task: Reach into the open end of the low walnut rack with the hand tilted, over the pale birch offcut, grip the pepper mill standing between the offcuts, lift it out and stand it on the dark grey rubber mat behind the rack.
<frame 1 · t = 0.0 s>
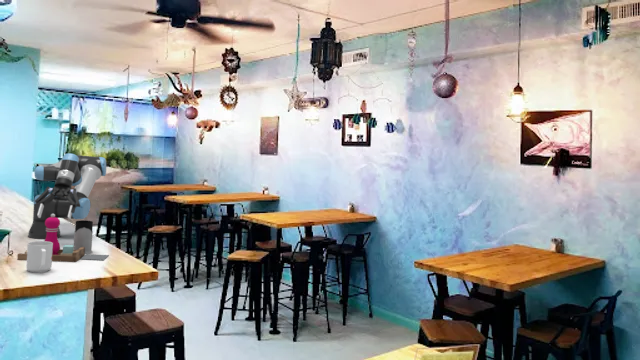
hand: (53, 217, 234), 15 cm above the table, tool tilted 35°, fingers open, 13 cm apart
mat: (94, 257, 223), on the table
pepper mill: (50, 257, 217), resting in rack
mug: (39, 271, 194), on the table
rack: (52, 257, 217), on the table
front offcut: (32, 257, 215), on the table
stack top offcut: (68, 252, 218), point 3 cm above the table, touching stack bottom offcut
glass holder: (82, 251, 234), on the table
stack bottom offcut: (68, 258, 218), resting in rack, touching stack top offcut
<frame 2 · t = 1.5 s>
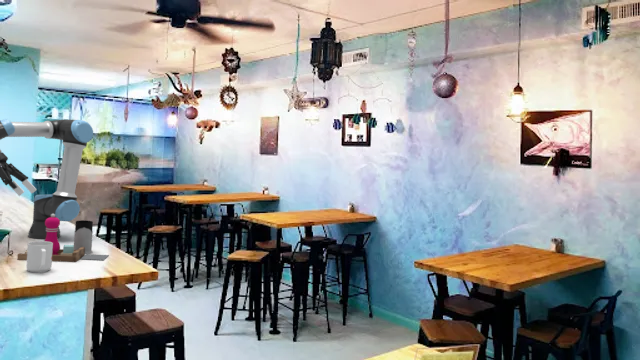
hand: (28, 192, 219), 28 cm above the table, tool tilted 45°, fingers open, 13 cm apart
nothing on the table moved.
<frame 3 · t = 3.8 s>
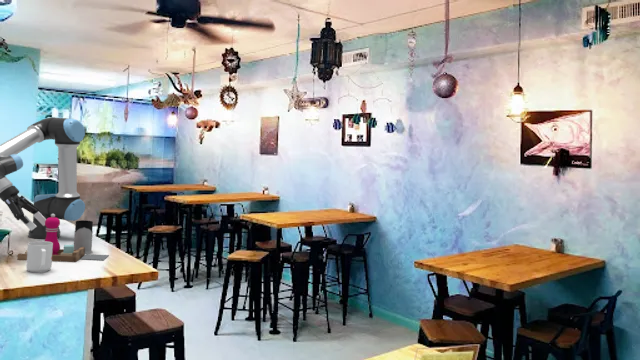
hand: (40, 226, 214), 14 cm above the table, tool tilted 45°, fingers open, 13 cm apart
nothing on the table moved.
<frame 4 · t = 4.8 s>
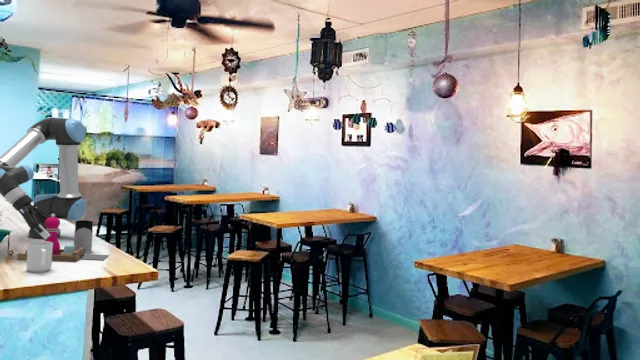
hand: (53, 234, 216), 10 cm above the table, tool tilted 45°, fingers open, 13 cm apart
nothing on the table moved.
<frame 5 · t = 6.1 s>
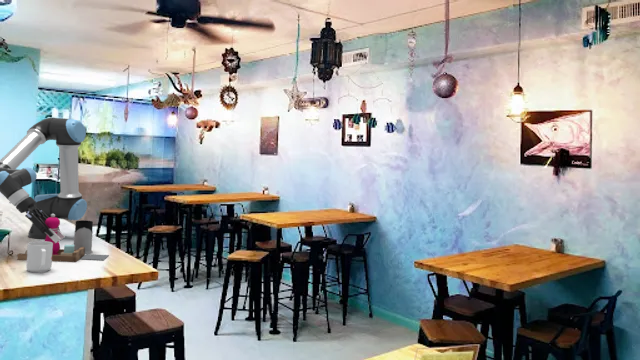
hand: (60, 239, 217), 8 cm above the table, tool tilted 45°, fingers closed on pepper mill, 5 cm apart
pepper mill: (50, 257, 217), resting in rack, touching gripper
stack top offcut: (69, 252, 219), point 3 cm above the table
stack bottom offcut: (68, 258, 219), resting in rack
everything else where it was.
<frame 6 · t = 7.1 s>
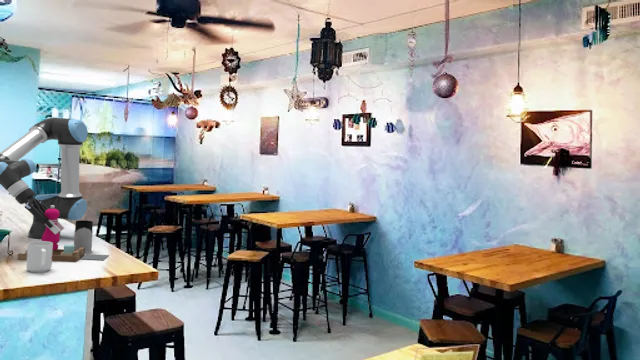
hand: (60, 231, 216), 12 cm above the table, tool tilted 45°, fingers closed on pepper mill, 5 cm apart
pepper mill: (50, 249, 216), point 4 cm above the table, touching gripper
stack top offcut: (68, 252, 219), point 3 cm above the table, touching stack bottom offcut
stack bottom offcut: (68, 258, 219), resting in rack, touching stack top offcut
everything else where it was.
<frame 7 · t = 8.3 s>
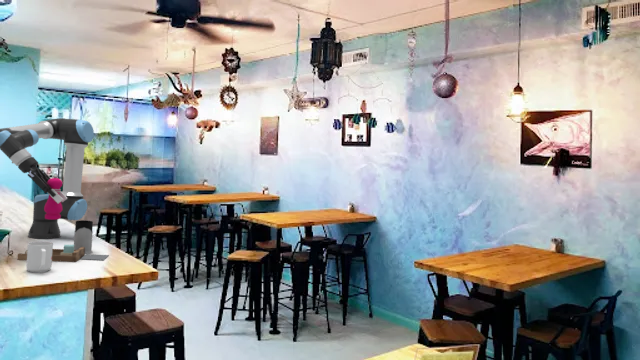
hand: (62, 200, 216), 26 cm above the table, tool tilted 45°, fingers closed on pepper mill, 5 cm apart
pepper mill: (52, 218, 216), point 18 cm above the table, touching gripper
everything else where it was.
when the fingers open (9 cm above the table, at t = 13.0 s): pepper mill stays where it is, resting on mat.
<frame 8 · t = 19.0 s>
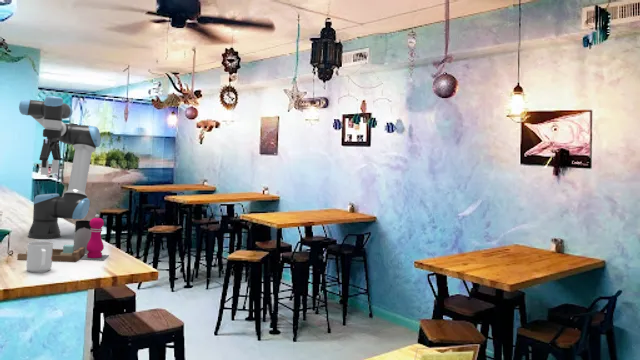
hand: (49, 174, 227), 37 cm above the table, tool pointing down, fingers open, 13 cm apart
pepper mill: (94, 257, 223), resting on mat
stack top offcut: (68, 252, 219), point 3 cm above the table
stack bottom offcut: (68, 258, 219), resting in rack
everything else where it was.
at the end: pepper mill inside the target area on the mat (0.1 cm from its centre), point 0.2 cm above the mat's base; pepper mill tilted 0°; the gripper is holding nothing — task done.
